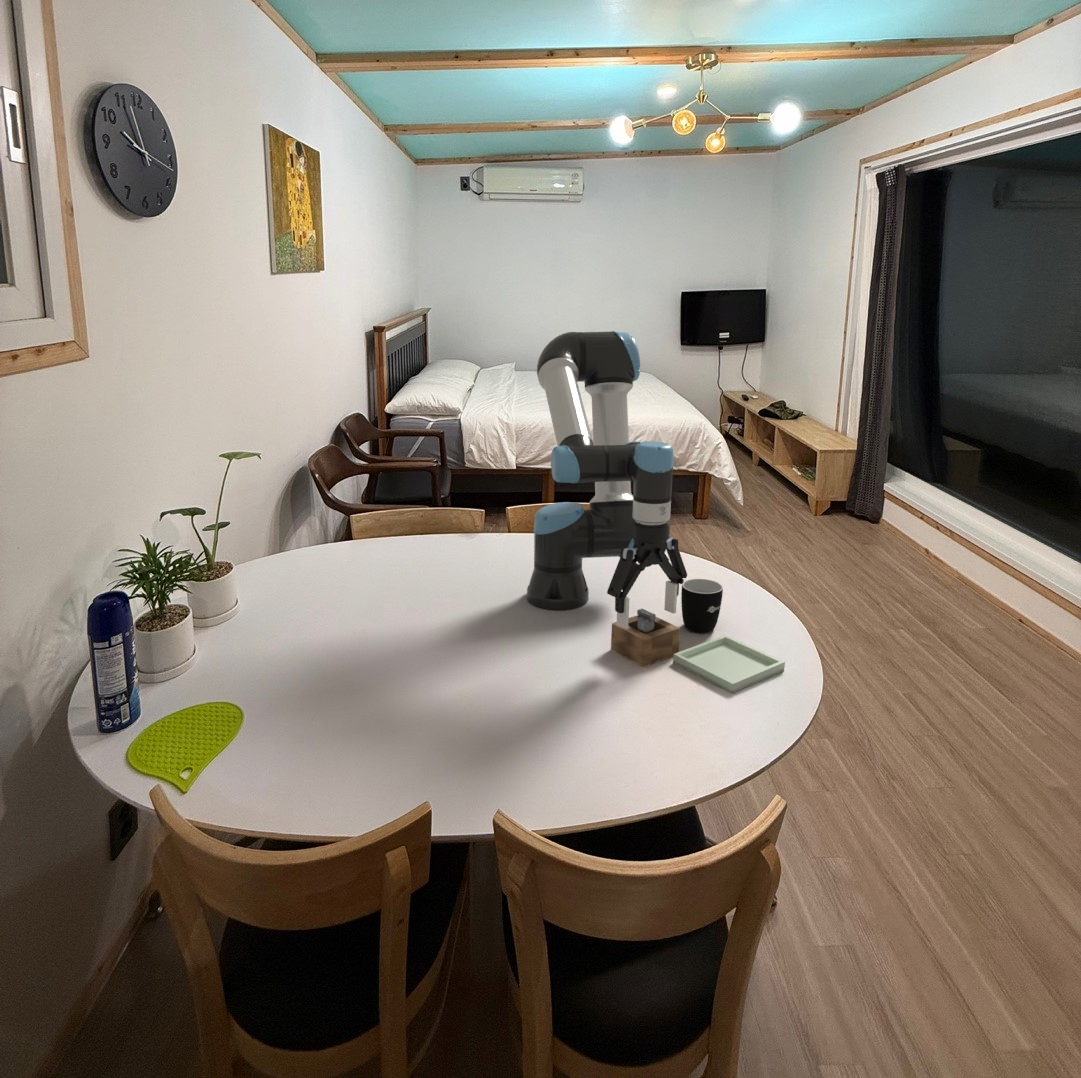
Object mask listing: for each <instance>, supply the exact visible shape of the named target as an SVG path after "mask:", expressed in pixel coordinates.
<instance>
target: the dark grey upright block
mask: <svg viewBox="0 0 1081 1078" xmlns="http://www.w3.org/2000/svg"><path fill="white" fill-rule="evenodd" d="M636 612H637V613H636V616H637V615H638V617H637V630H638V631H640V632H642V633H644V634H647V633H650V632H653V631H654V626H655V618H656V617H657V616H656V615H657V614H655V613H653V612H651V611H648V610H646V609H644V608H639V609H637V610H636Z"/></svg>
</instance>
